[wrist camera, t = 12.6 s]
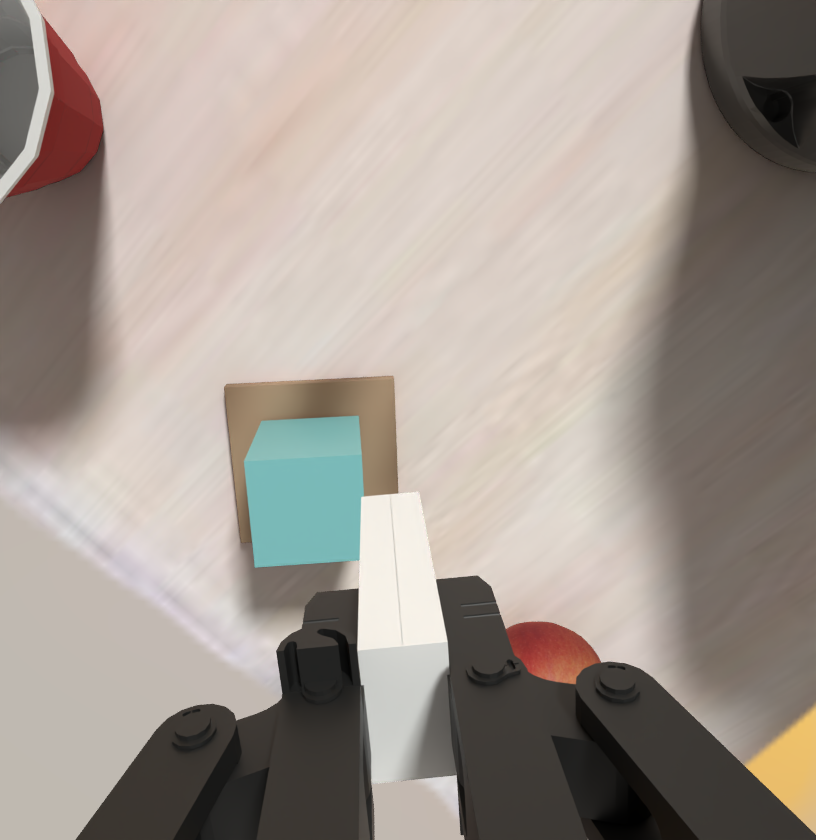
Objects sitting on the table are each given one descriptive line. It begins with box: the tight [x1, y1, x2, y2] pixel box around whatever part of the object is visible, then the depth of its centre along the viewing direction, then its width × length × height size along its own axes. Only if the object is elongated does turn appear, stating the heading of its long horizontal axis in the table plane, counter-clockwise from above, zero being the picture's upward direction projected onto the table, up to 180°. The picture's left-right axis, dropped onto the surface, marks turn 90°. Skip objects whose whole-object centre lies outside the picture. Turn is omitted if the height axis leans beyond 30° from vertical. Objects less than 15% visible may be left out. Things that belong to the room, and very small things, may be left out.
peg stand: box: [224, 376, 398, 543], centre depth 35 cm, size 9×9×7 cm
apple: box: [506, 622, 601, 684], centre depth 39 cm, size 8×8×8 cm
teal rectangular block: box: [244, 416, 364, 568], centre depth 34 cm, size 5×5×7 cm
